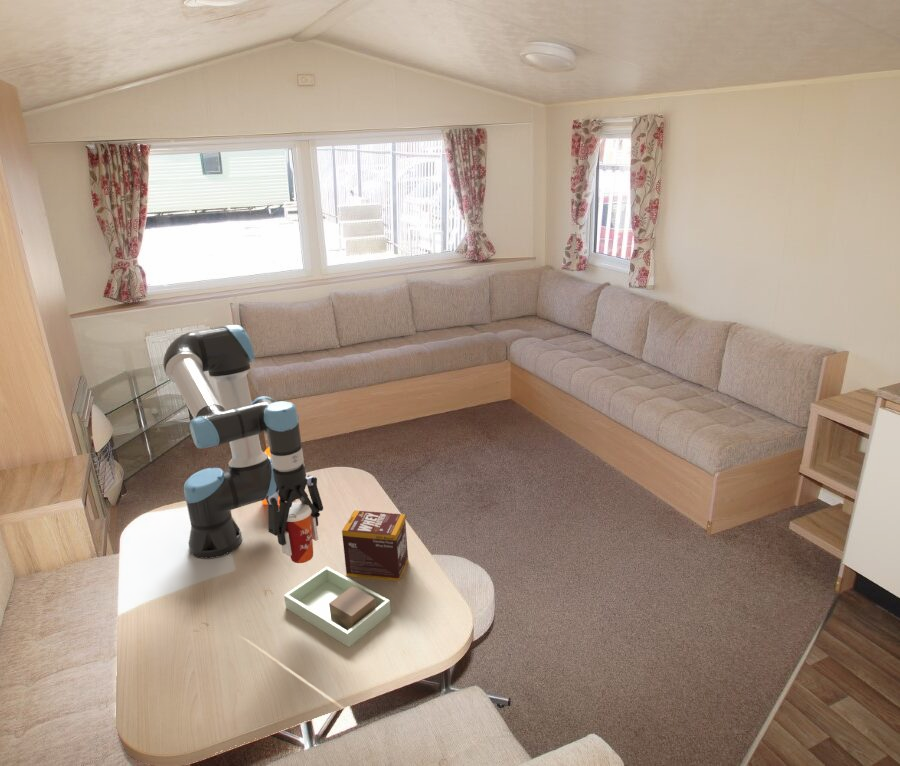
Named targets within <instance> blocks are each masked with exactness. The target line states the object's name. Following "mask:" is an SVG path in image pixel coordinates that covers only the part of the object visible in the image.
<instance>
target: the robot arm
mask: <svg viewBox="0 0 900 766" xmlns="http://www.w3.org/2000/svg"><path fill="white" fill-rule="evenodd" d="M254 361H255V351H254V346H253V345H252V341H251V338H250V337H249V334H248V333H247V331H246V330H245V328H244V327H243V326H241V325H238V324H230V325H229V324H228V325H222V326H217V327H212V328H206V329H202V330H196V331H191V332H186V333H184V334H181V335H179V336H178V337H176V338H175V339H174V340H173V341H172V342H171V343H170V345H169V346H168V347H167V348H166V351H165V353H164V357H163V362H162V363H163V364H162V365H163V369H164V373H165V374H166V377H167V378H168V380H170V381H171V382H172V383H174V384H175V385H176V387H177V389H178V391H179V393H180V395H181V398H182V399H183V400H184V402H185V404H186V406H187V408H188V410H189V412H190V414H191V416H192V419H190V421H189V430H190V435H191V438H192V440H193V444H194V445H195V447H196V448H197V449H206V448H210V447H211V448H212V447H217V446H220V445H223V444H227V443H229V447H230V452H231V457H232V458H231V459H230V460H229V462H228V467H229V469H227V470H225V471H224V470H223V469H222V468H220V467H213V468H212V467H207V468H203V469H200V470H198V471H197V472H195V473H193V474H192V475H191V476H189V477H188V478H187V479H186V481H185V482H184V485H183V493H184V500H185V502H186V506H187V511H188V516H189V523H190V526H191V527H190V531H189V539H188V549H189V552H190V554H191V555H192V556H193V557H196V558H198V559H206V560H207V559H216V558H219V557H222V556H225V555H228V554H229V553H232V552H233V551H235V550H236V549H237V548H238V547H239V546H240V545H241V543H242V540H243V537H242V536H243V535H242V531H241V529H240V527H239V525H238V524H237V522H236V520H235V519H234V518H233V516H232V511H233V510H235V509H240V508H243V507H245V506H249V505H251V504H252V505H253V504H254V503H258V502H262V501H263V500H265V499H266V501H267V503H268V504H267V508H268V511H267V513H268V515H267V516H268V518H267V521H268V533H270V534H272V535H274V536H276V537H277V542H278V544H279V545H281V548H282V549H281V550H282V553H283V554H284V555H286V556H288V557H290V556H291V555H292V552H291V546H290V540H289V534H288V532H286V531H285V530H286V525H287V520H288V515H289V510H290V507H291V506H292V503H294V502H295V501H296V500H300V501H299V502H302V503H304V504H306V505H309V507H310V508H311V510H312V512H311V526H312V540H314V541H319V535H318V526H319V517H320V516H321V513H320V512H322V511H323V510H324V506H323V502H322V498H321V496H320V492H319V488H318V485H317V484H318V478H317V476H313V475H310V474H308V475H307V471H306V465H305V463H304V461H305V460H304V453H303V445H302V438H301V431H300V422H299V415H298V410H297V407H296V405H295V403H293V402H291V401H286V400H284V401H278V400H276V399H274V398H272V397H270V396H267V395H263V396H262V395H261V396H259V397H258V396H257V397H256V398H255V399H253V400H252V397H251V396H252V395H251V391H250V386H249V383H248V376H247V375H248V374H249V373H250V370H251V363H253V362H254ZM206 372H208V375H209V377H210V378H211V379H213V380H215V382H216V386H217V390H218V395H217V393H216V391H215V389H214V388H213V386H212V384H211V383H210V380H209V379H208V377H207V375H206V374H205V373H206ZM261 434H265V435H266V436H267V437H266V438H267V441H268V442H267V443H268V447H269V448H270V455H271V458H268V455H267V454H266V453H264V452H265V451H263V449H262V446H261V441H260V435H261ZM306 487H307V489H308V490H307V491H308V493H309V495H308V494H307V492H306V491H305V489H306ZM279 497H280V500H279V501H278V498H279ZM309 497H310V498H309ZM285 501H286V502H285ZM278 503H279V504H280V505H278ZM290 558H291V557H290Z"/></svg>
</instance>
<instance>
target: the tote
mask: <svg viewBox="0 0 900 766" xmlns="http://www.w3.org/2000/svg"><path fill="white" fill-rule="evenodd" d="M352 586H353V587H355V588H357V589H359V590H361V591H363V592H364V593H366V594H368V595H370V596H372V597H374V598H375V605H376V609H374V610H373V611H372V612H370V613H369V614H368V615H367V616H365V617H364V618H363V619H362V620H360V621H359V622H358V623H357V624H355V625H354V626H353V627H352V628H350V629H349V630H348V631H347V630H346V629H344V628H342V627H341V626H339V625H337V624H336V623H334V622H332V621H331V614H330V607H329V603H330V602H331V601H333V600H334V599H335V598H337V597H338V596H340V595H341V594H342V593H344V592H345V591H346V590H348V589H349V588H350V587H352ZM283 598H284V603H285V609H287V610H288V611H290V612H292V613H293V614H295V615H297V616H298V617H299V618H301V619H303V620H304V621H306V622H307V623H309V624H310V625H312V626H314V627H316V628H317V629H319V630H321V631H322V632H324V633H325V634H327V635H329V636H330V637H332V638H334V639H335V640H336V641H338V642H340V643H341V644H343V645H345V646H346V647H347V648H350V647H352V646H353V645H354V644H355V643H357V642H358V641H359V640H360V639H361V638H362V637H364V636H365V635H366V634H368V633H369V632H370V631H371V630H372V629H374V627H376V626H377V625H379V624H380V623H381V622H382V621H384V619H386V618H387V617H388V616H389V615H391V613H392V611H391V600H390V599H388V598H386V597H385V596H383V595H381V594H379V593H377V592H375V591H373V590H371V589H370V588H368V587H366V586H364V585H362V584H361V583H358V582H357V581H355V580H353V579H351V578H350V577H348V576H345V575H343V574H342V573H340V572H338V571H336V570H334V569H332V568H330V567H329V566H325V567H324V568H322V569H320V571H318V572H316V573H315V574H313V575H312V576H310V577H309V578H308V579H306V580H304V581H303V582H301V583H300V584H299V585H297V586H295V587H294V588H292V589H291V590H290V591H288V592H287V593H285V594H284V595H283Z"/></svg>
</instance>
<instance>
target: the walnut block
mask: <svg viewBox="0 0 900 766" xmlns="http://www.w3.org/2000/svg"><path fill="white" fill-rule="evenodd" d="M329 607H330V614H331V621H332V622H334V623H336V624H337V625H339V626H341V627H342V628H344V629H346V630H347V631H348V630H349V629H350V628H352V627H353V626H354V625H355V624H357V623H358V622H359V621H360V620H362V619H363V618H364V617H365V616H367V615H368V614H369V613H370V612H372V611H373V610H374V609H376V605H375V598H374V597H372V596H370V595H368V594H366V593H364V592H363V591H361V590H359V589H357V588H355V587H353V586H352V587H350V588H349V589H348V590H346V591H345V592H344V593H342V594H341V595H340V596H338V597H337V598H335V599H334V600H333V601H331V602H330V603H329Z"/></svg>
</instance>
